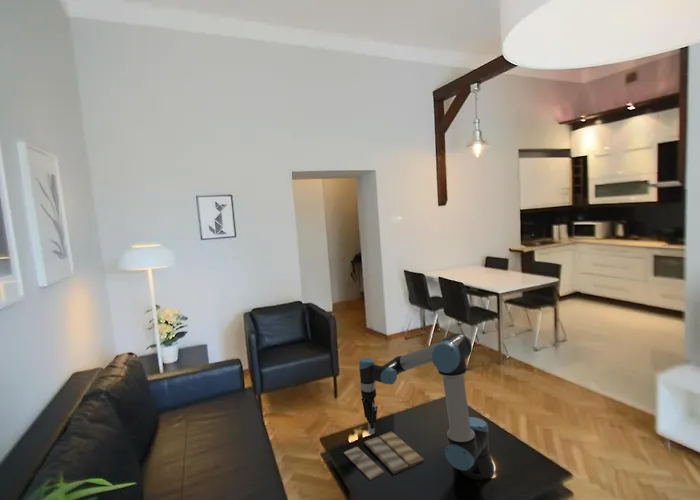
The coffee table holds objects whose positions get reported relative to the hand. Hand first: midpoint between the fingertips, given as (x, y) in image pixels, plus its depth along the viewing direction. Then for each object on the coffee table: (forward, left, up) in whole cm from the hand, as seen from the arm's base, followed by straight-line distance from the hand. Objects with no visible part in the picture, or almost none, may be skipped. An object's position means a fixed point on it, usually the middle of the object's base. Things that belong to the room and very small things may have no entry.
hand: (371, 433), depth 191 cm
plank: (-7, +9, -9) cm, 15 cm away
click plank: (-8, -3, -8) cm, 12 cm away
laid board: (-8, -12, -8) cm, 16 cm away
